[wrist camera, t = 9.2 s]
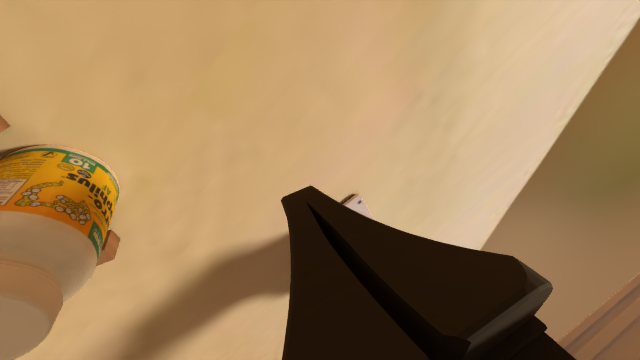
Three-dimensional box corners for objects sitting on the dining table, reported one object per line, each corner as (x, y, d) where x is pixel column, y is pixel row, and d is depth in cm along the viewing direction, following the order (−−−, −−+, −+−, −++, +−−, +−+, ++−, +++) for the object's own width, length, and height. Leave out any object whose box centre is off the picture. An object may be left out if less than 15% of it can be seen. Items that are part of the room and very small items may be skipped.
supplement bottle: (-34, 156, 12) (-331, 344, 5) (92, 132, 14) (1, 247, 7) (41, 230, 16) (-79, 413, 8) (137, 203, 17) (107, 334, 10)
